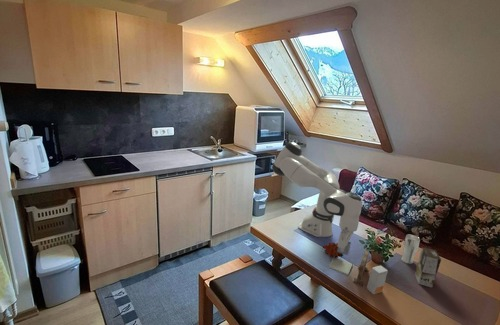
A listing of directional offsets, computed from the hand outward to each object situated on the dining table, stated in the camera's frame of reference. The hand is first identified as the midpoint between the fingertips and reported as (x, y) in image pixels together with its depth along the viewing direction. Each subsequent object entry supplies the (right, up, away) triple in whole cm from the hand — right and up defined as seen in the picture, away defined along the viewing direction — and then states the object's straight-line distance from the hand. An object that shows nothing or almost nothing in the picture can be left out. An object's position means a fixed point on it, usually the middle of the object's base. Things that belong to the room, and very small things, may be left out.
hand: (343, 248), depth 139 cm
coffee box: (+40, -16, -3) cm, 43 cm away
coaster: (-1, -11, +3) cm, 11 cm away
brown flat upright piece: (+8, -13, -3) cm, 16 cm away
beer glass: (+41, -12, +13) cm, 44 cm away
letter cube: (0, -2, +1) cm, 2 cm away
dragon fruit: (-3, -8, +10) cm, 13 cm away
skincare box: (+10, -16, -12) cm, 23 cm away
